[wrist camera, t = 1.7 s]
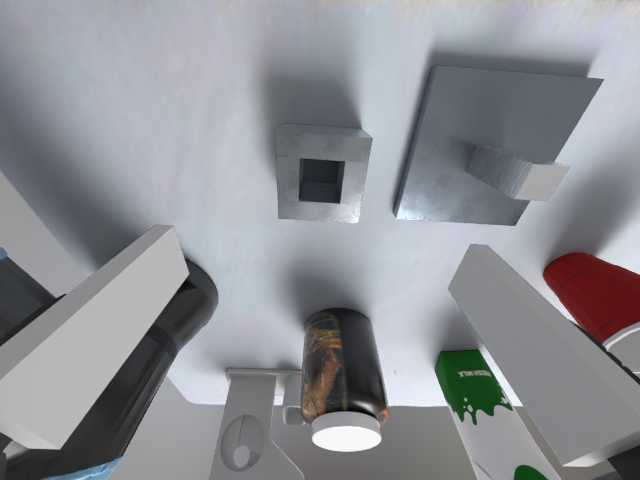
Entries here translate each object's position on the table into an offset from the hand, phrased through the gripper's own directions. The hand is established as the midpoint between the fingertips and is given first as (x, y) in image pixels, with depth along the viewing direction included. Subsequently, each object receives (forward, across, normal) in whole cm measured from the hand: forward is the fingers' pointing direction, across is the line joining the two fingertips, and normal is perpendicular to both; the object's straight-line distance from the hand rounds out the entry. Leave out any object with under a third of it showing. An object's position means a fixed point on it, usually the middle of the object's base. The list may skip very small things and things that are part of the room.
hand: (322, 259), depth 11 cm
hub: (+16, 0, 0) cm, 16 cm away
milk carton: (+17, +29, -36) cm, 49 cm away
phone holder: (+17, -8, -47) cm, 51 cm away
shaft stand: (+16, +16, +2) cm, 23 cm away
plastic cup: (+17, +35, -12) cm, 40 cm away
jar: (+17, +5, -28) cm, 33 cm away
